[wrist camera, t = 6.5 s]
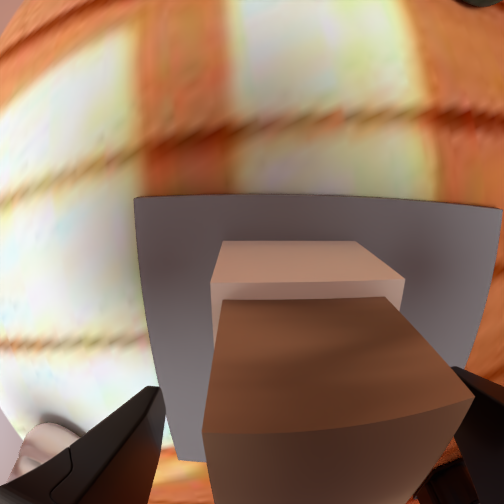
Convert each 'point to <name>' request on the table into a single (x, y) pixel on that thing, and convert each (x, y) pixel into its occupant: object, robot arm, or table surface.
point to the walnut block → (325, 403)
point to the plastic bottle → (41, 447)
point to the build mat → (302, 229)
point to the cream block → (299, 273)
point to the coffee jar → (482, 2)
